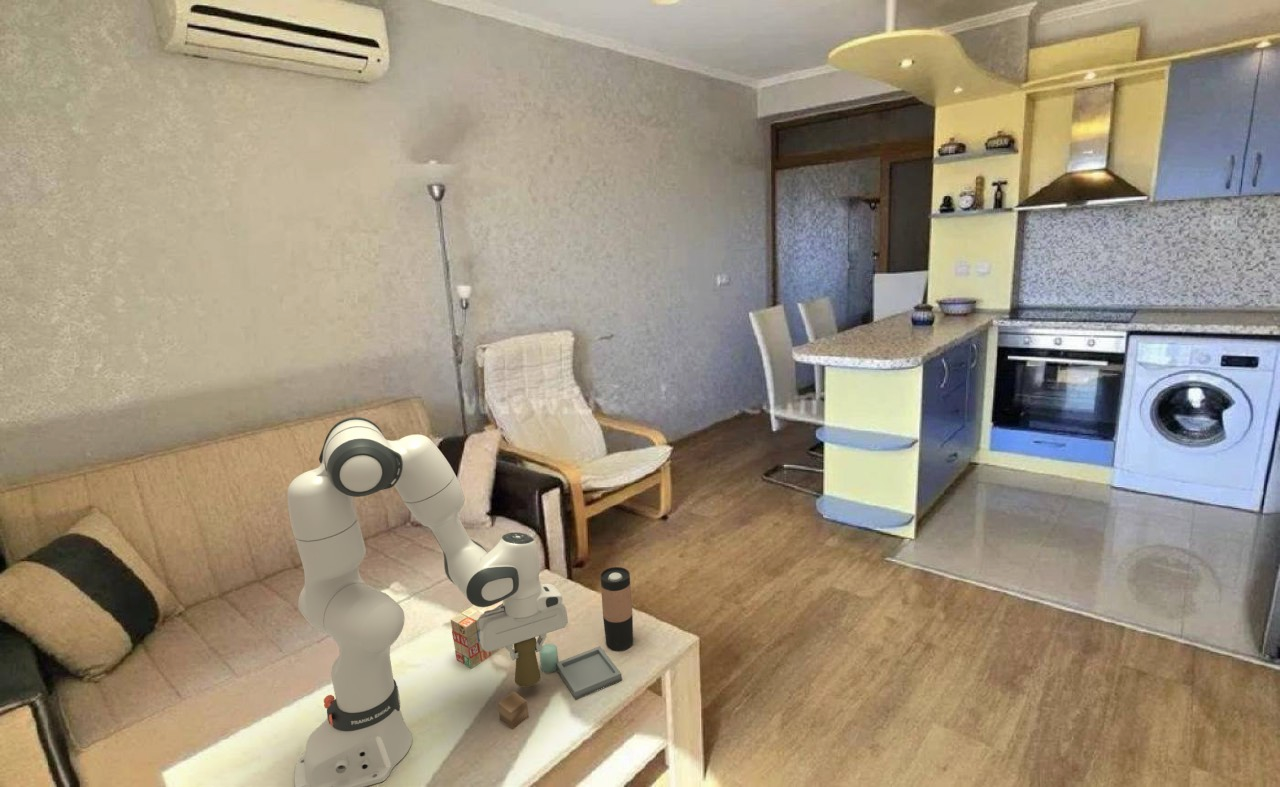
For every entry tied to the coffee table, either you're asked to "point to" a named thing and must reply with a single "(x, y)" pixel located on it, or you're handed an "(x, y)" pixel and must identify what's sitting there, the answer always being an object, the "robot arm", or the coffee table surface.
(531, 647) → the olive brown pawn
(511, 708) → the walnut cube
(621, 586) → the travel mug
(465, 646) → the stack of blocks
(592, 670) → the tray
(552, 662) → the teal cylinder
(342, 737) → the robot arm
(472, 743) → the coffee table surface
